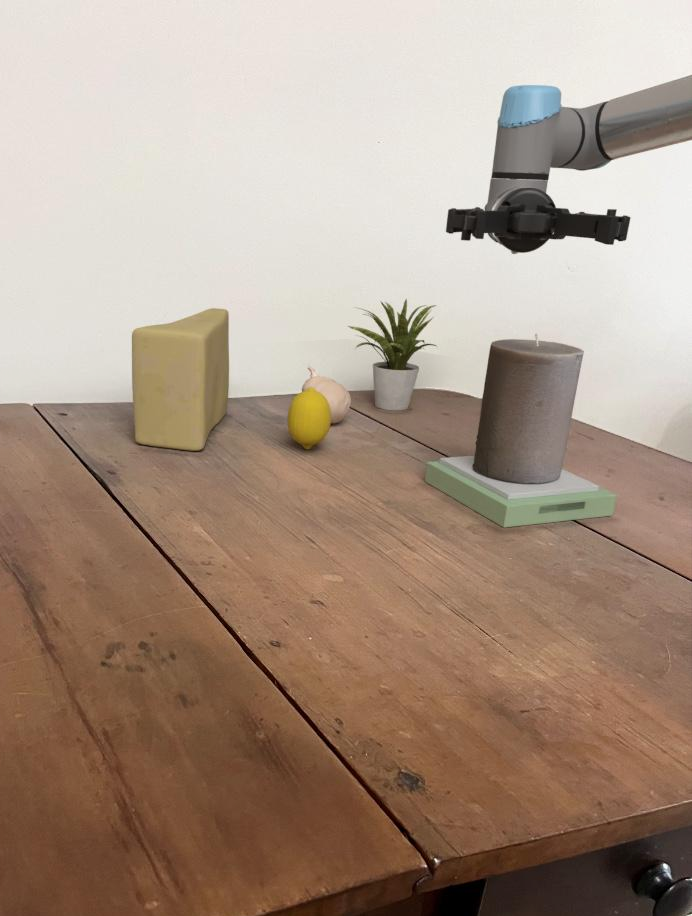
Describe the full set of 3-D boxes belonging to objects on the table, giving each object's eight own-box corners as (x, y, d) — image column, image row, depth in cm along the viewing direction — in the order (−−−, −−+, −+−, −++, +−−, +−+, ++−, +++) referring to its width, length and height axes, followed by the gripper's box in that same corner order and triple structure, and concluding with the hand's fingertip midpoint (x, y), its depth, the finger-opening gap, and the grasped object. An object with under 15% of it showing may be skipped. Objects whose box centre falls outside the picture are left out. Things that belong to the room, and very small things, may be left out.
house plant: (383, 390, 153) (393, 288, 146) (455, 405, 144) (470, 297, 137) (330, 403, 143) (338, 293, 136) (404, 420, 135) (416, 304, 128)
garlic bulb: (327, 415, 136) (331, 360, 133) (356, 425, 131) (361, 368, 128) (292, 420, 132) (295, 364, 129) (321, 431, 128) (325, 373, 124)
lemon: (304, 457, 116) (308, 394, 112) (277, 447, 120) (280, 385, 116) (337, 451, 119) (342, 389, 115) (309, 441, 123) (313, 381, 119)
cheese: (191, 408, 137) (192, 304, 131) (253, 415, 135) (257, 309, 128) (130, 445, 118) (128, 325, 112) (201, 453, 116) (203, 331, 109)
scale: (612, 515, 99) (618, 489, 98) (503, 528, 95) (508, 500, 93) (523, 472, 113) (527, 448, 112) (424, 481, 108) (427, 456, 107)
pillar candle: (459, 473, 101) (479, 334, 95) (488, 454, 109) (508, 323, 103) (548, 490, 97) (574, 345, 90) (571, 469, 104) (597, 333, 98)
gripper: (617, 255, 117) (660, 271, 98) (420, 246, 120) (424, 259, 101) (630, 191, 114) (676, 194, 95) (427, 183, 117) (432, 185, 98)
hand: (546, 228), depth 98 cm, fingers open, 13 cm apart
